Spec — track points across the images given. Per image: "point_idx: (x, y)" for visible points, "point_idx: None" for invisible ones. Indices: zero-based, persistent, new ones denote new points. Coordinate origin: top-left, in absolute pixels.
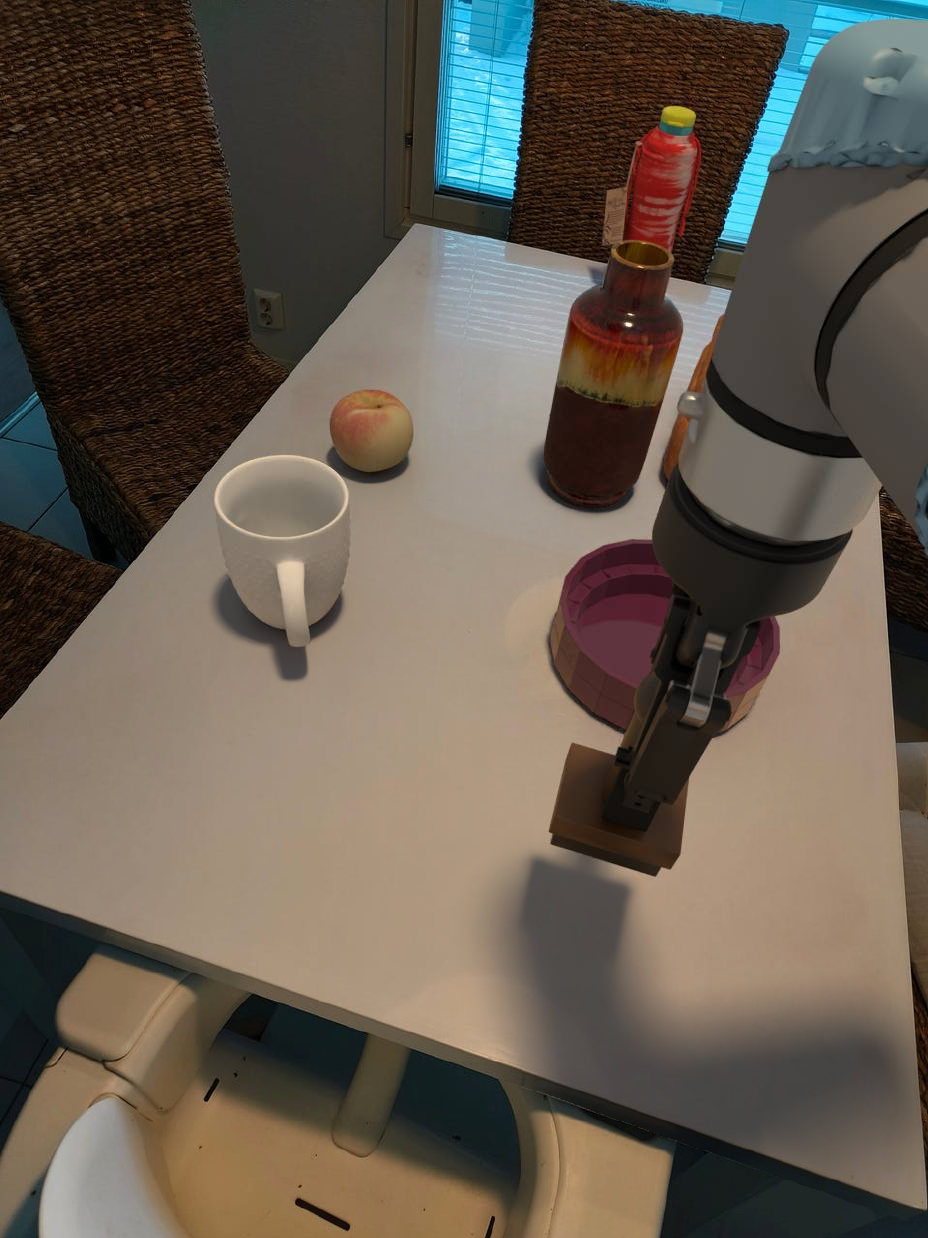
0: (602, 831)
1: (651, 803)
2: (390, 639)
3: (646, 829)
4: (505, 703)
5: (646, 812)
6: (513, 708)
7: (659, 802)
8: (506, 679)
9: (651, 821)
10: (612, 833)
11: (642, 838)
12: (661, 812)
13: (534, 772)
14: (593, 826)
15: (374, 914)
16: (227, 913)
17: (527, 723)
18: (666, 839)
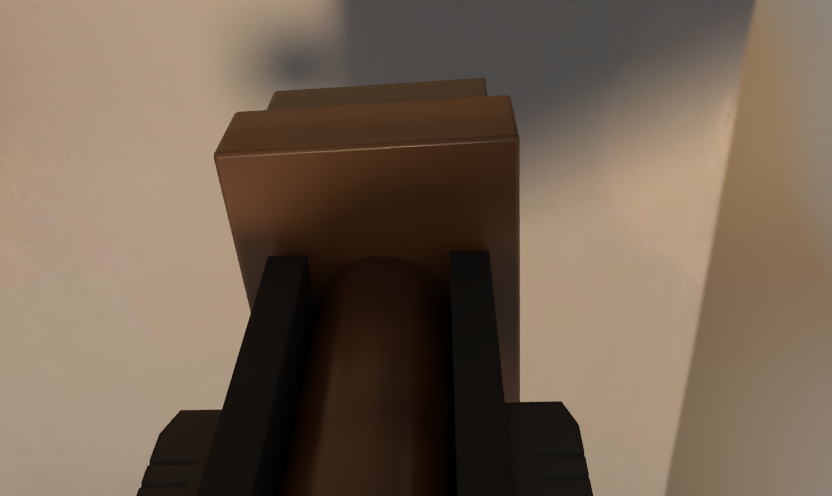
0: (518, 336)
1: (586, 470)
2: (75, 469)
3: (489, 261)
4: (68, 288)
5: (563, 408)
6: (69, 273)
7: (500, 374)
8: (14, 301)
9: (492, 290)
10: (517, 317)
11: (503, 246)
12: (392, 214)
13: (182, 204)
14: (513, 358)
15: (556, 343)
16: (611, 480)
17: (84, 243)
18: (481, 186)
